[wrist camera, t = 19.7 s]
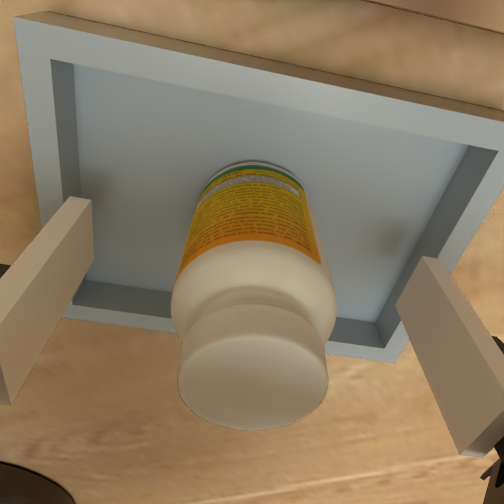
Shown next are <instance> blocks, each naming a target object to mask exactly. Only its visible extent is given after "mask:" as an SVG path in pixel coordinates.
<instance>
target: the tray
mask: <svg viewBox="0 0 504 504" xmlns="http://www.w3.org/2000/svg"><path fill="white" fill-rule="evenodd" d="M13 18H14V26H15V33H16V41H17V48H18V56H19V63H20V71H21V79H22V86H23V94H24V101H25V109H26V116H27V124H28V131H29V139H30V147H31V154H32V162H33V169H34V177H35V184H36V192H37V199H38V207H39V215H40V222H41V230H42V229H43V228H44V226H45V225H46V224H47V223H48V222H49V220H50V219H51V218H52V217H53V216H54V215H55V213H56V212H57V211H58V210H59V209H60V207H61V206H62V205H63V204H64V203H65V202H66V200H67V199H68V198H69V197H70V196H72V197H78V198H84V199H90V200H92V222H93V245H94V260H93V262H92V264H91V266H90V267H89V269H88V271H87V273H86V274H85V276H84V278H83V280H82V282H81V283H80V285H79V287H78V289H77V290H76V292H75V294H74V296H73V297H72V299H71V301H70V303H69V304H68V306H67V308H66V310H65V311H64V313H63V315H62V317H61V318H67V319H74V320H82V321H89V322H96V323H104V324H111V325H118V326H126V327H133V328H140V329H148V330H155V331H162V332H169V333H176V331H175V329H174V326H173V322H172V317H171V298H172V291H173V286H174V283H175V280H176V277H177V274H178V270H179V267H180V263H181V260H182V256H183V252H184V248H185V244H186V240H187V237H188V234H189V230H190V226H191V222H192V219H193V215H194V211H195V208H196V204H197V202H198V199H199V196H200V194H201V192H202V190H203V188H204V187H205V185H206V184H207V182H208V181H209V180H210V179H211V178H212V177H213V176H214V175H215V174H217V173H218V172H220V171H222V170H223V169H225V168H227V167H230V166H232V165H235V164H239V163H245V162H262V163H267V164H271V165H274V166H277V167H279V168H282V169H284V170H286V171H288V172H289V173H291V174H293V175H294V176H295V177H296V178H297V179H298V180H299V181H300V182H301V183H302V184H303V186H304V187H305V189H306V190H307V192H308V194H309V196H310V198H311V201H312V204H313V207H314V211H315V215H316V220H317V224H318V228H319V232H320V237H321V241H322V244H323V248H324V252H325V255H326V259H327V263H328V267H329V271H330V275H331V278H332V282H333V286H334V291H335V295H336V302H337V316H336V321H335V325H334V328H333V331H332V333H331V335H330V337H329V339H328V341H327V342H326V344H325V345H324V348H325V354H330V355H338V356H345V357H352V358H359V359H367V360H374V361H381V362H389V363H395V362H396V361H397V359H398V358H399V356H400V354H401V353H402V351H403V350H404V348H405V346H406V345H407V343H408V341H409V340H410V339H409V337H408V334H407V332H406V330H405V328H404V325H403V323H402V321H401V318H400V316H399V314H398V311H397V309H396V307H395V305H396V303H397V301H398V299H399V297H400V295H401V294H402V292H403V290H404V288H405V286H406V285H407V283H408V281H409V279H410V277H411V275H412V274H413V272H414V270H415V268H416V266H417V265H418V263H419V261H420V259H421V257H422V256H425V257H431V258H437V259H440V260H441V261H442V263H443V264H444V266H445V267H446V269H447V270H448V272H449V273H450V274H451V272H452V270H453V269H454V267H455V266H456V264H457V262H458V261H459V259H460V258H461V256H462V254H463V253H464V251H465V249H466V248H467V246H468V245H469V243H470V241H471V240H472V238H473V237H474V235H475V233H476V232H477V230H478V228H479V227H480V225H481V224H482V222H483V220H484V219H485V217H486V216H487V214H488V212H489V211H490V209H491V207H492V206H493V204H494V203H495V201H496V199H497V198H498V196H499V195H500V193H501V191H502V190H503V188H504V111H503V110H498V109H494V108H489V107H484V106H480V105H475V104H471V103H466V102H462V101H457V100H452V99H448V98H443V97H439V96H434V95H429V94H425V93H420V92H416V91H411V90H407V89H402V88H397V87H393V86H388V85H384V84H379V83H374V82H370V81H365V80H361V79H356V78H351V77H347V76H342V75H338V74H333V73H329V72H324V71H319V70H315V69H310V68H306V67H301V66H296V65H292V64H287V63H283V62H278V61H273V60H269V59H264V58H260V57H255V56H251V55H246V54H241V53H237V52H232V51H228V50H223V49H218V48H214V47H209V46H205V45H200V44H196V43H191V42H186V41H182V40H177V39H173V38H168V37H163V36H159V35H154V34H150V33H145V32H140V31H136V30H131V29H127V28H122V27H118V26H113V25H108V24H104V23H99V22H95V21H90V20H85V19H81V18H76V17H72V16H67V15H63V14H58V13H53V12H49V11H48V12H41V13H35V14H28V15H22V16H16V17H13Z"/></svg>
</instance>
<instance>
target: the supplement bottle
mask: <svg viewBox="0 0 504 504" xmlns="http://www.w3.org/2000/svg"><path fill="white" fill-rule="evenodd" d="M336 316H337V302H336V295H335V291H334V286H333V282H332V278H331V275H330V271H329V267H328V263H327V259H326V255H325V252H324V248H323V244H322V241H321V237H320V232H319V228H318V224H317V220H316V215H315V211H314V207H313V204H312V201H311V198H310V196H309V194H308V192H307V190H306V189H305V187H304V186H303V184H302V183H301V182H300V181H299V180H298V179H297V178H296V177H295V176H294V175H293V174H291V173H289V172H288V171H286V170H284V169H282V168H279V167H277V166H274V165H271V164H267V163H262V162H245V163H239V164H235V165H232V166H230V167H227V168H225V169H223V170H222V171H220V172H218V173H217V174H215V175H214V176H213V177H212V178H211V179H210V180H209V181H208V182H207V184H206V185H205V187H204V188H203V190H202V192H201V194H200V196H199V199H198V202H197V204H196V208H195V211H194V215H193V219H192V222H191V226H190V230H189V234H188V237H187V240H186V244H185V248H184V252H183V256H182V260H181V263H180V267H179V270H178V274H177V277H176V280H175V283H174V286H173V291H172V298H171V317H172V322H173V326H174V329H175V331H176V333H177V335H178V337H179V339H180V341H181V342H182V347H181V356H180V363H179V370H178V377H177V384H178V391H179V394H180V396H181V398H182V400H183V402H184V403H185V405H186V406H187V407H188V408H189V409H190V410H191V411H192V412H193V413H195V414H196V415H197V416H199V417H201V418H203V419H204V420H206V421H208V422H210V423H213V424H215V425H219V426H222V427H226V428H231V429H236V430H246V431H258V430H268V429H273V428H279V427H284V426H287V425H289V424H292V423H295V422H297V421H299V420H301V419H303V418H304V417H306V416H308V415H309V414H310V413H312V412H313V411H314V410H315V409H316V408H317V407H318V406H319V405H320V404H321V403H322V401H323V399H324V397H325V395H326V393H327V389H328V373H327V365H326V359H325V348H324V345H325V344H326V342H327V341H328V339H329V337H330V335H331V333H332V331H333V328H334V325H335V321H336Z"/></svg>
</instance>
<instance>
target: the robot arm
mask: <svg viewBox="0 0 504 504" xmlns="http://www.w3.org/2000/svg"><path fill="white" fill-rule="evenodd" d="M93 260H94V245H93V222H92V200H90V199H84V198H78V197H72V196H70V197H69V198H68V199H67V200H66V202H65V203H64V204H63V205H62V206H61V207H60V209H59V210H58V211H57V212H56V213H55V215H54V216H53V217H52V218H51V219H50V220H49V222H48V223H47V224H46V225H45V226H44V228H43V229H42V230H41V231H40V232H39V233H38V235H37V236H36V237H35V238H34V239H33V241H32V242H31V243H30V244H29V245H28V246H27V248H26V249H25V250H24V251H23V252H22V254H21V255H20V256H19V257H18V258H17V259H16V261H15V262H14V263H13V264H12V265H5V264H0V404H8V405H12V403H13V401H14V399H15V398H16V396H17V394H18V392H19V390H20V389H21V387H22V385H23V383H24V382H25V380H26V378H27V376H28V375H29V373H30V371H31V369H32V368H33V366H34V364H35V362H36V361H37V359H38V357H39V355H40V354H41V352H42V350H43V348H44V347H45V345H46V343H47V341H48V340H49V338H50V336H51V334H52V332H53V331H54V329H55V327H56V325H57V324H58V322H59V320H60V318H61V317H62V315H63V313H64V311H65V310H66V308H67V306H68V304H69V303H70V301H71V299H72V297H73V296H74V294H75V292H76V290H77V289H78V287H79V285H80V283H81V282H82V280H83V278H84V276H85V274H86V273H87V271H88V269H89V267H90V266H91V264H92V262H93ZM395 307H396V309H397V311H398V314H399V316H400V318H401V321H402V323H403V325H404V328H405V330H406V332H407V334H408V337H409V339H410V341H411V344H412V346H413V348H414V351H415V353H416V355H417V358H418V360H419V362H420V364H421V367H422V369H423V371H424V374H425V376H426V378H427V381H428V383H429V385H430V388H431V390H432V392H433V394H434V397H435V399H436V401H437V404H438V406H439V408H440V411H441V413H442V415H443V417H444V420H445V422H446V424H447V427H448V429H449V431H450V434H451V436H452V438H453V441H454V443H455V445H456V447H457V450H458V452H459V454H460V455H463V456H472V457H481V458H483V457H484V456H485V455H486V454H487V453H488V452H489V451H490V450H492V449H493V448H494V447H495V449H496V451H497V453H498V455H499V457H500V458H499V459H498V460H497V461H496V462H495V463H494V464H493V465H492V466H491V467H490V468H488V469H487V470H486V471H485V472H484V473H483V474H482V476H481V477H480V478H481V479H483V480H485V479H486V478H487V477H488V476H490V480H489V484H488V487H487V491H486V494H485V498H484V502H483V504H504V343H503V342H502V341H501V340H499V339H498V338H497V337H495V336H491V335H490V333H489V332H488V330H487V329H486V327H485V326H484V324H483V323H482V321H481V320H480V318H479V317H478V315H477V314H476V312H475V311H474V309H473V308H472V306H471V305H470V303H469V302H468V300H467V299H466V297H465V296H464V294H463V293H462V291H461V290H460V288H459V287H458V285H457V284H456V282H455V281H454V279H453V278H452V276H451V275H450V273H449V272H448V270H447V269H446V267H445V266H444V264H443V263H442V261H441V260H440V259H437V258H431V257H425V256H422V257H421V259H420V261H419V263H418V265H417V266H416V268H415V270H414V272H413V274H412V275H411V277H410V279H409V281H408V283H407V285H406V286H405V288H404V290H403V292H402V294H401V295H400V297H399V299H398V301H397V303H396V305H395ZM0 504H74V503H73V501H72V499H71V498H70V497H69V496H68V494H67V493H65V492H64V491H63V490H62V489H61V488H59V487H58V486H57V485H55V484H53V483H52V482H50V481H48V480H46V479H44V478H42V477H40V476H38V475H35V474H33V473H30V472H28V471H25V470H22V469H19V468H15V467H12V466H8V465H4V464H0Z"/></svg>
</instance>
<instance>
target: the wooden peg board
mask: <svg viewBox="0 0 504 504" xmlns="http://www.w3.org/2000/svg"><path fill="white" fill-rule="evenodd" d="M363 1H367V2H371V3H375V4H379V5H383V6H387V7H392V8H396V9H400V10H404V11H408V12H412V13H416V14H421V15H425V16H429V17H433V18H437V19H441V20H446V21H450V22H454V23H458V24H462V25H466V26H470V27H475V28H479V29H483V30H487V31H491V32H495V33H499V34H504V0H363Z"/></svg>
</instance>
